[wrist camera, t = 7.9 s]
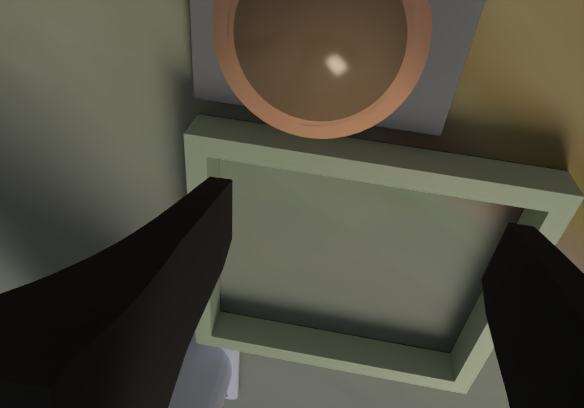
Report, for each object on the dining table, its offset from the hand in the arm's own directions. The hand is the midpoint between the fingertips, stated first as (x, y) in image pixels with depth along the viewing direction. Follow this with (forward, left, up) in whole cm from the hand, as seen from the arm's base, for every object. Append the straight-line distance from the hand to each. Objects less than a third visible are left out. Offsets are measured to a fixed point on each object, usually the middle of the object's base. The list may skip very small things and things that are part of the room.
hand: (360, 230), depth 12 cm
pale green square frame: (+1, -10, -9) cm, 13 cm away
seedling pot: (-2, +4, -9) cm, 10 cm away
